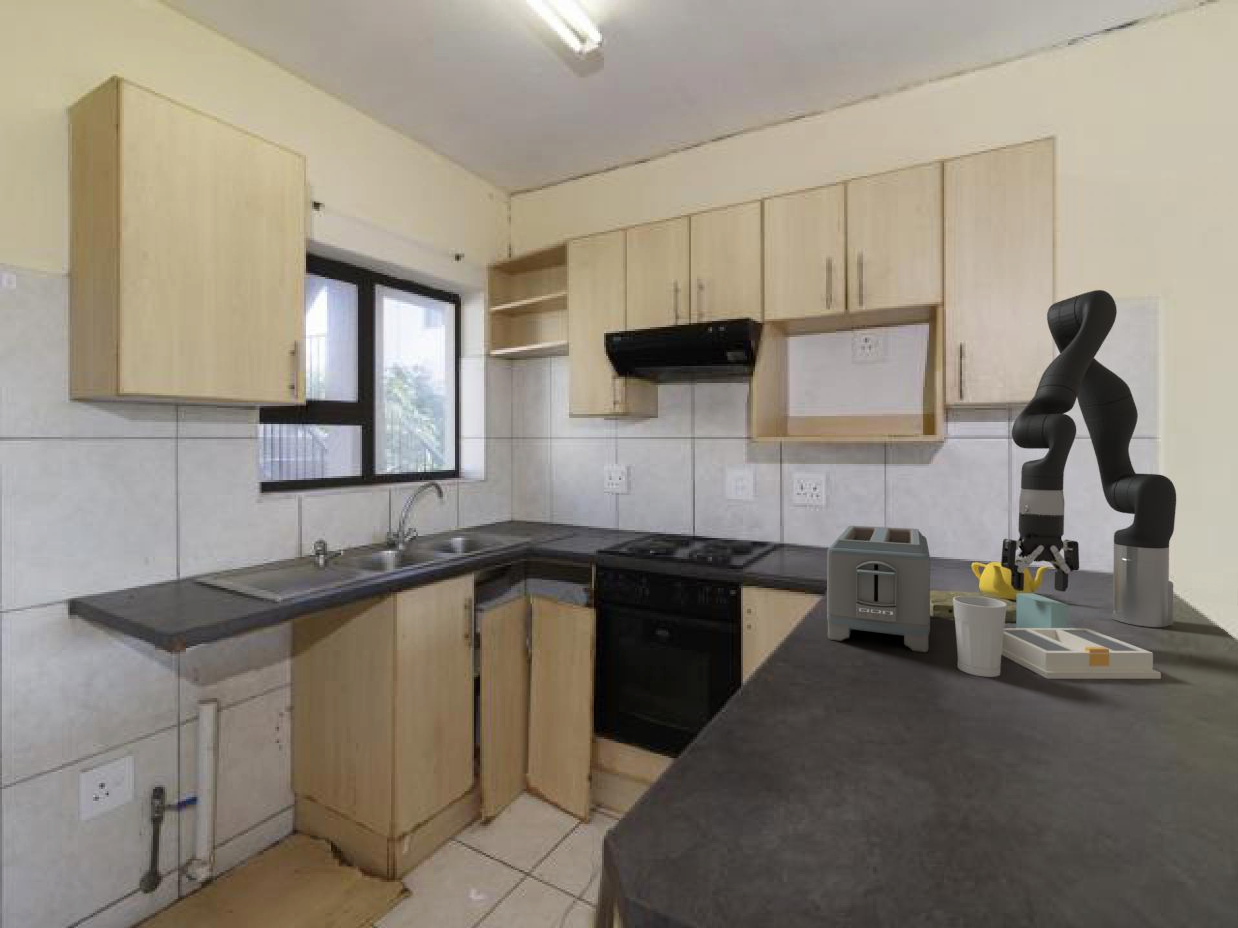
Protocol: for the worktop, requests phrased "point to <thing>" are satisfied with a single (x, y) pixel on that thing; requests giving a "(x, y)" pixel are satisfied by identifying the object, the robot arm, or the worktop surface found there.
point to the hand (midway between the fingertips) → (1039, 590)
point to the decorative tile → (944, 599)
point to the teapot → (1005, 580)
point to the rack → (1076, 654)
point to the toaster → (879, 584)
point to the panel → (1040, 612)
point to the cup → (979, 634)
